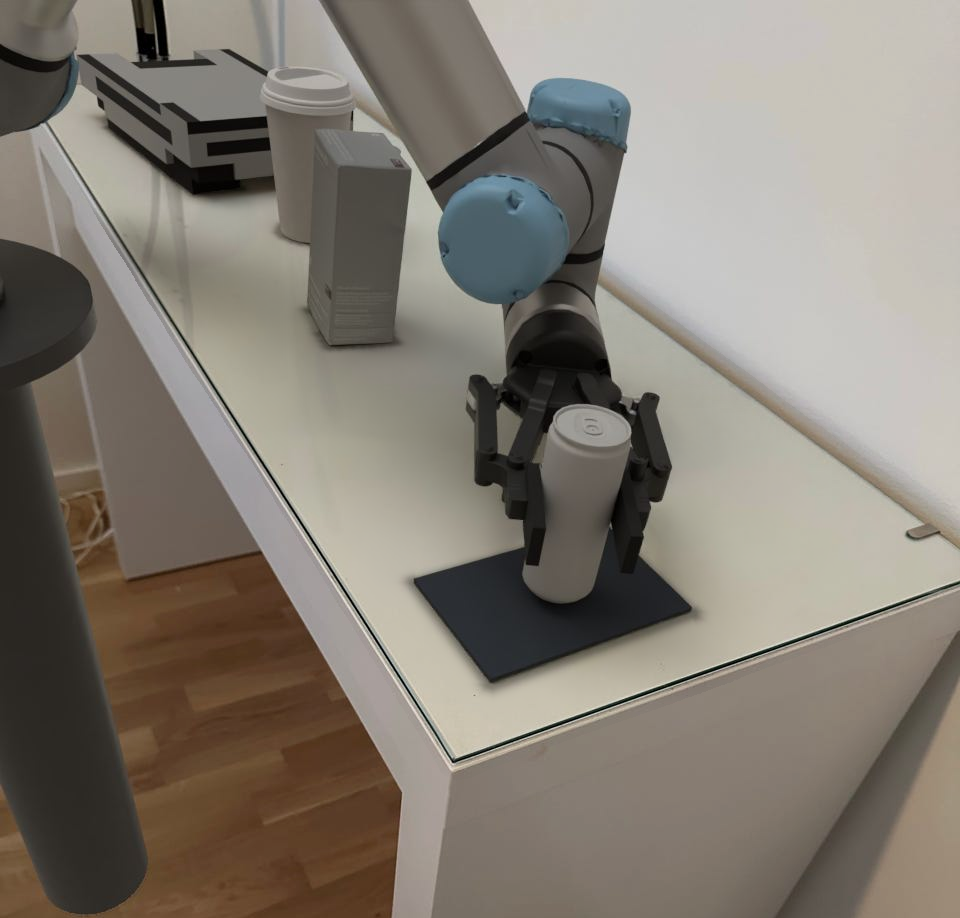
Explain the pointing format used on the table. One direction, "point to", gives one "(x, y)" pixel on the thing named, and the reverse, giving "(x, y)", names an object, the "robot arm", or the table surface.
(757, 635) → the table surface
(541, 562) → the beverage can
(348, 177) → the cosmetic box
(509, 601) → the mat
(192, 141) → the game console
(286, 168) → the coffee cup
